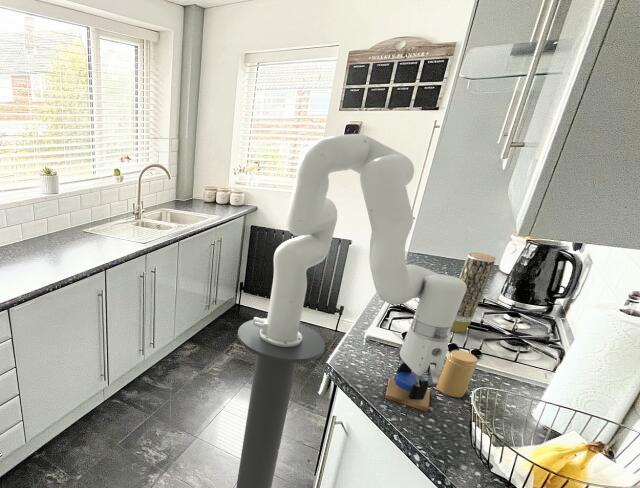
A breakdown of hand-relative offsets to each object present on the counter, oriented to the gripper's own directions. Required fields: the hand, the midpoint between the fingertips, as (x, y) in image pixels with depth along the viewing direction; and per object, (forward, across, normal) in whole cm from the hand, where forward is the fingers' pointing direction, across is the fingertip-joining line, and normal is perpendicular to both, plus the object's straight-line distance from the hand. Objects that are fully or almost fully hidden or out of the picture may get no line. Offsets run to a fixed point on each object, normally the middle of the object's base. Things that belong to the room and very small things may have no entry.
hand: (408, 389), depth 106 cm
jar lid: (-3, 0, 0) cm, 3 cm away
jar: (+2, +3, -12) cm, 13 cm away
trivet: (+2, 0, 0) cm, 2 cm away
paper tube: (+2, +38, -34) cm, 51 cm away
